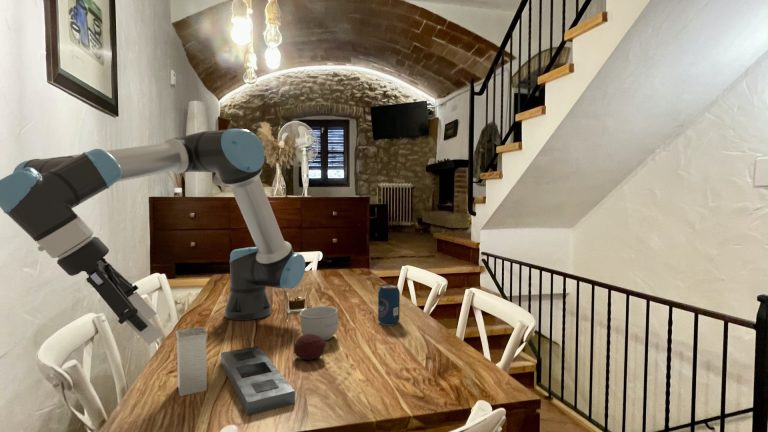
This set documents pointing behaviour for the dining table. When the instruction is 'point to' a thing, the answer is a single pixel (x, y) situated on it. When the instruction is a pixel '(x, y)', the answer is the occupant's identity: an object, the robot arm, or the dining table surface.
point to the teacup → (319, 321)
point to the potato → (309, 346)
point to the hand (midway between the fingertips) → (153, 327)
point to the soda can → (388, 304)
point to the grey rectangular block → (191, 360)
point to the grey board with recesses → (256, 380)
